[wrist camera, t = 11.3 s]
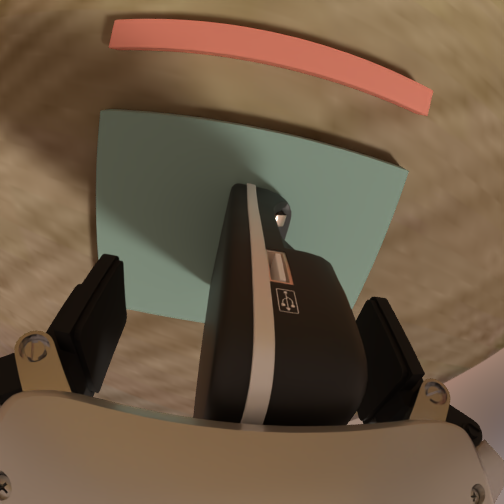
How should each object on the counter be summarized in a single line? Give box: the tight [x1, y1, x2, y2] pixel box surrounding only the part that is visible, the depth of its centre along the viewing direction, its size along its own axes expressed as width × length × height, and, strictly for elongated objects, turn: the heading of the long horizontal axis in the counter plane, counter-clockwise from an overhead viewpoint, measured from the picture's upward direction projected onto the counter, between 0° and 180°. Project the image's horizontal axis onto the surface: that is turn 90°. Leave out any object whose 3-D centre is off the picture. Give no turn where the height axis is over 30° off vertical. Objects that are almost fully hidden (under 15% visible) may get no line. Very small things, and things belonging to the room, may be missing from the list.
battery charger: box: [193, 183, 368, 426], centre depth 11 cm, size 7×4×11 cm, turn 166°
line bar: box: [109, 19, 433, 116], centre depth 11 cm, size 16×2×1 cm, turn 78°
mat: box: [96, 109, 409, 323], centre depth 16 cm, size 16×12×1 cm
